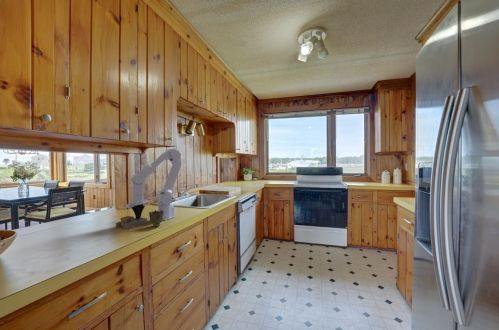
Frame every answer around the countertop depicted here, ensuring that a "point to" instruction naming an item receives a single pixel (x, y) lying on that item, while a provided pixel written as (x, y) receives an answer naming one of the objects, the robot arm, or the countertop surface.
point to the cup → (156, 217)
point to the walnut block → (126, 220)
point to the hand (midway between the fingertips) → (138, 218)
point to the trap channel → (135, 223)
